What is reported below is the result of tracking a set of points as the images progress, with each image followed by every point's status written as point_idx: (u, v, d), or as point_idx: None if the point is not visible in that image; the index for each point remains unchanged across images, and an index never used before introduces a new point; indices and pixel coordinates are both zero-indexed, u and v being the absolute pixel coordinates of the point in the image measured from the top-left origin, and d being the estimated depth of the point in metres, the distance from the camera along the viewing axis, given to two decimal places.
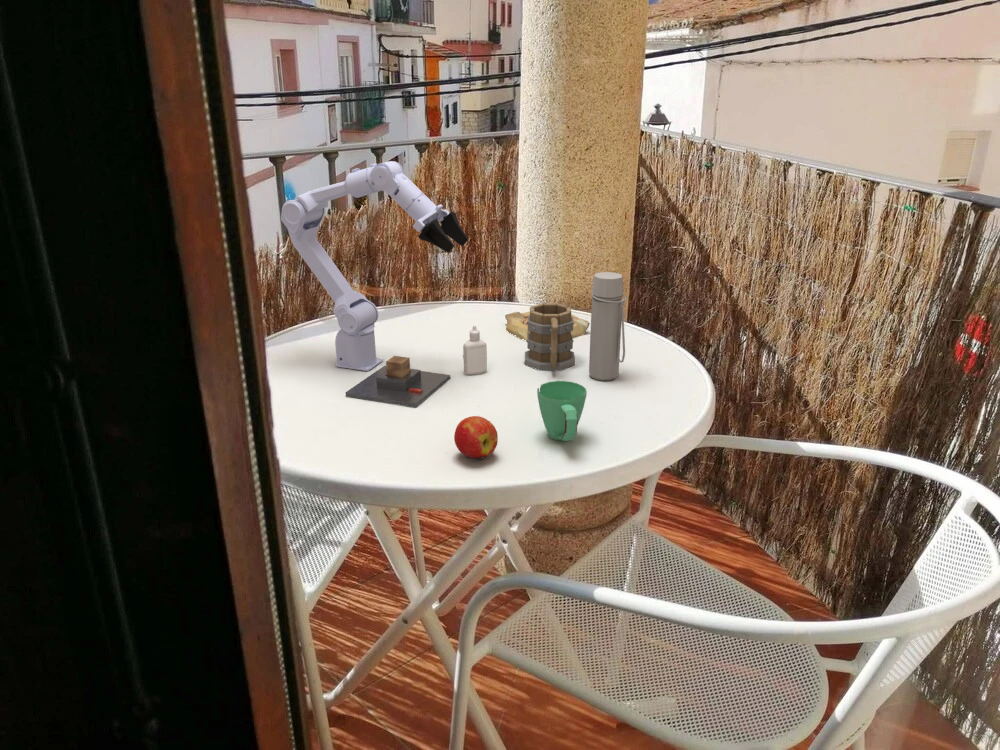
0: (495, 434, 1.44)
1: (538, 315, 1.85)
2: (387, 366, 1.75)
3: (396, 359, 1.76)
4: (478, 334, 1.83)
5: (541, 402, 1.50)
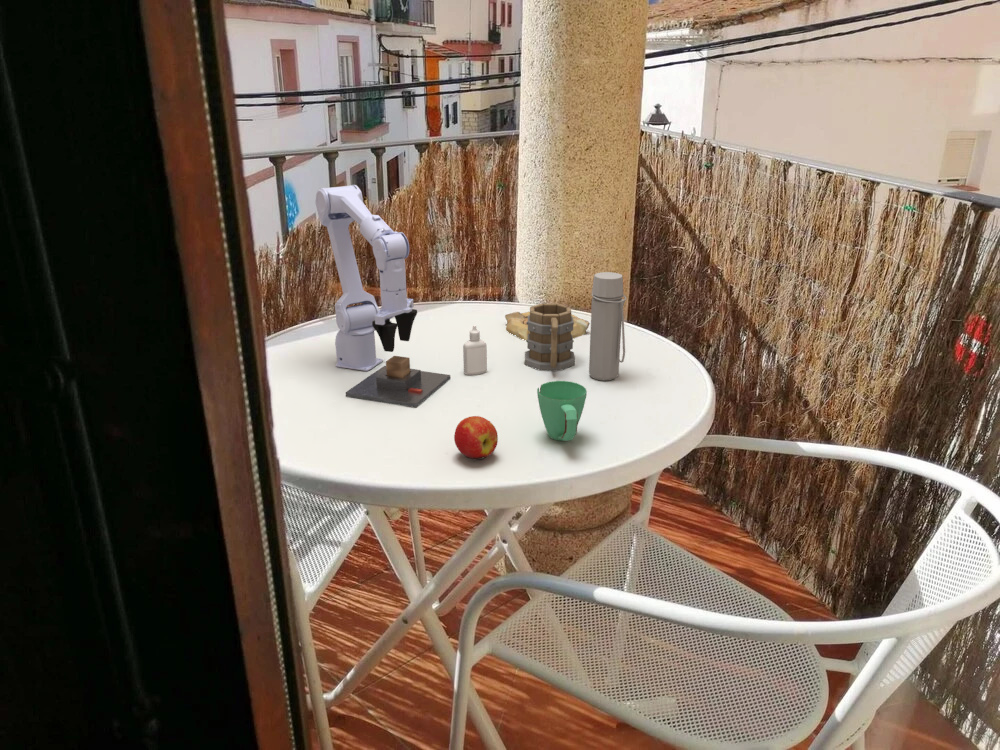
0: (495, 434, 1.44)
1: (538, 315, 1.85)
2: (387, 366, 1.75)
3: (396, 359, 1.76)
4: (478, 334, 1.83)
5: (541, 402, 1.50)
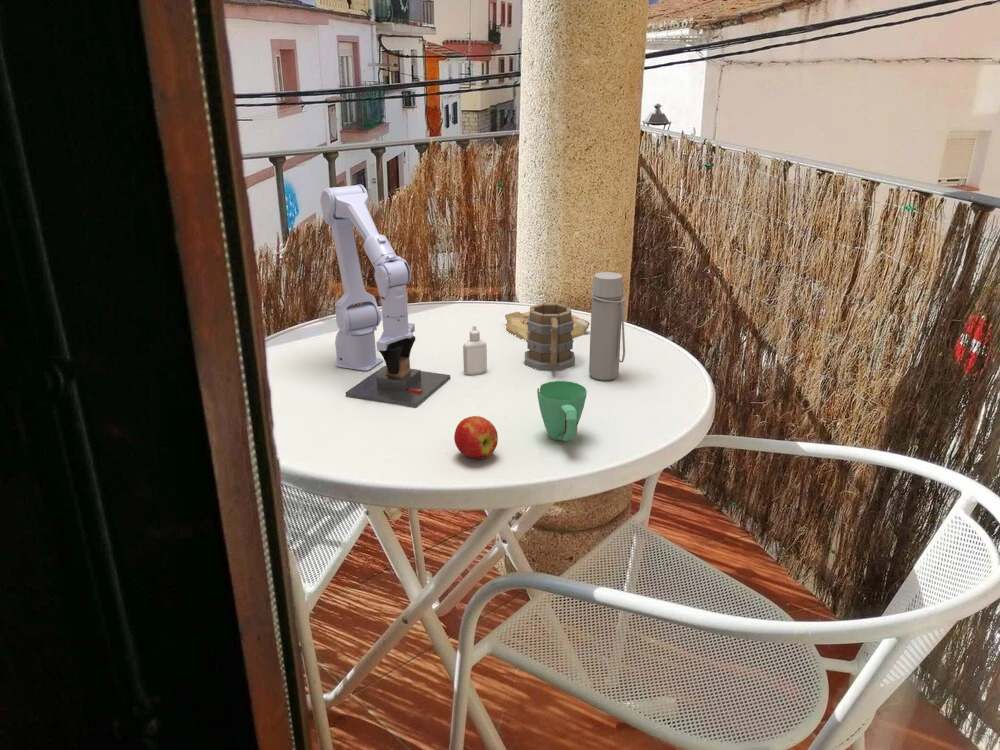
0: (495, 434, 1.44)
1: (538, 315, 1.85)
2: None
3: None
4: (478, 334, 1.83)
5: (541, 402, 1.50)
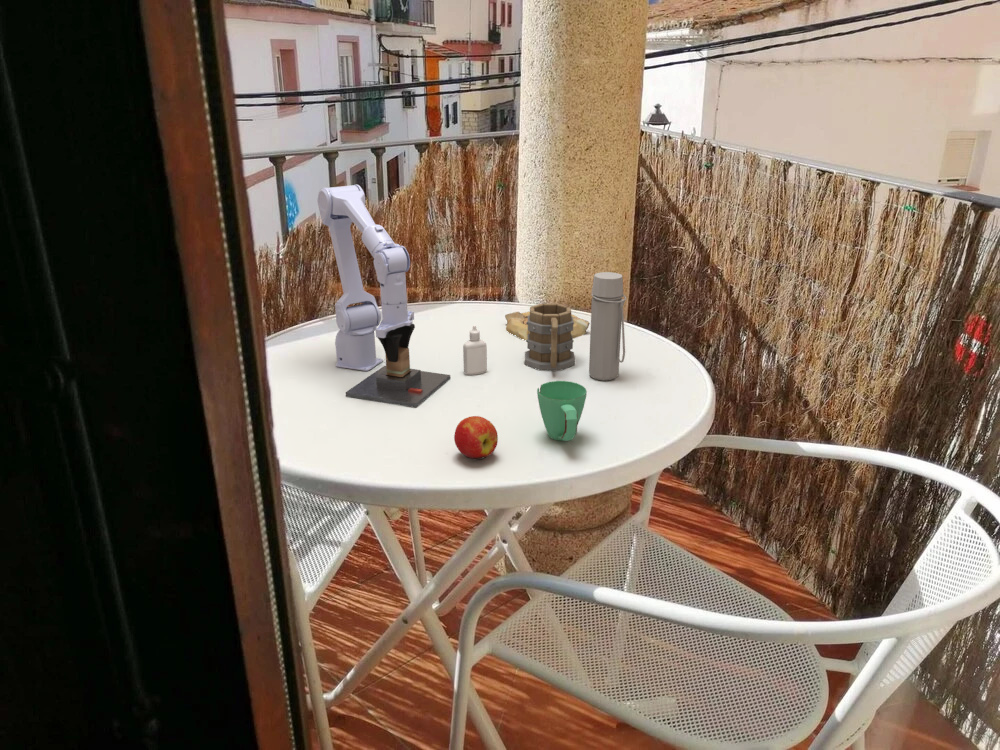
0: (495, 434, 1.44)
1: (538, 315, 1.85)
2: (386, 357, 1.75)
3: None
4: (478, 334, 1.83)
5: (541, 402, 1.50)
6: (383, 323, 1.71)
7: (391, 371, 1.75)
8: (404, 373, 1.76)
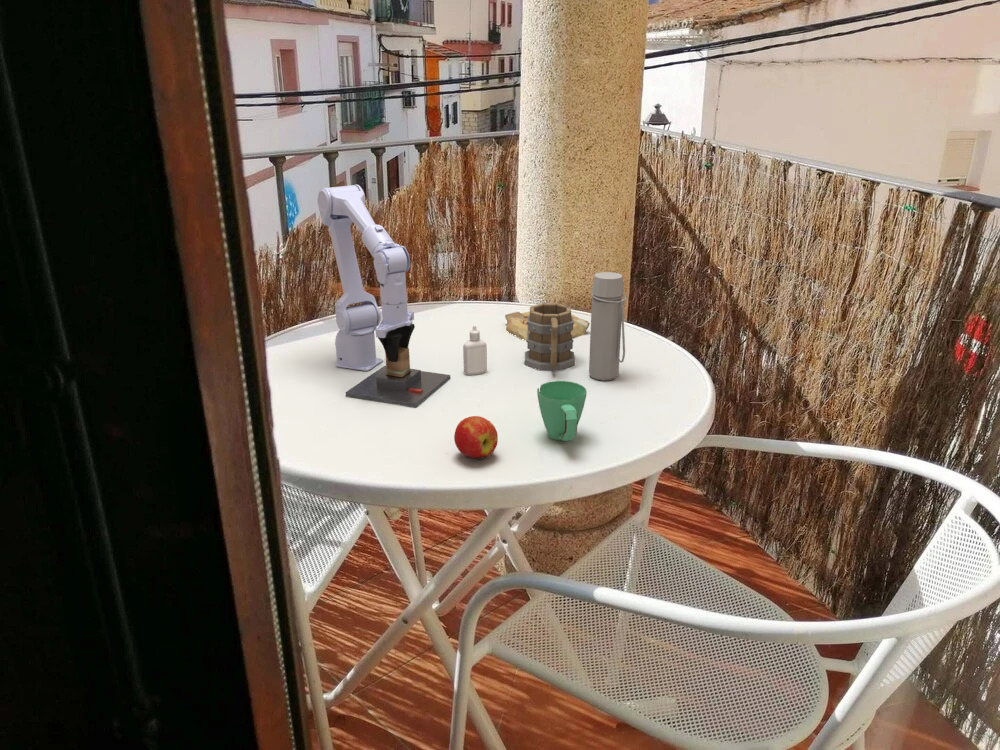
0: (495, 434, 1.44)
1: (538, 315, 1.85)
2: (386, 356, 1.75)
3: None
4: (478, 334, 1.83)
5: (541, 402, 1.50)
6: (383, 323, 1.71)
7: (391, 371, 1.75)
8: (404, 373, 1.76)
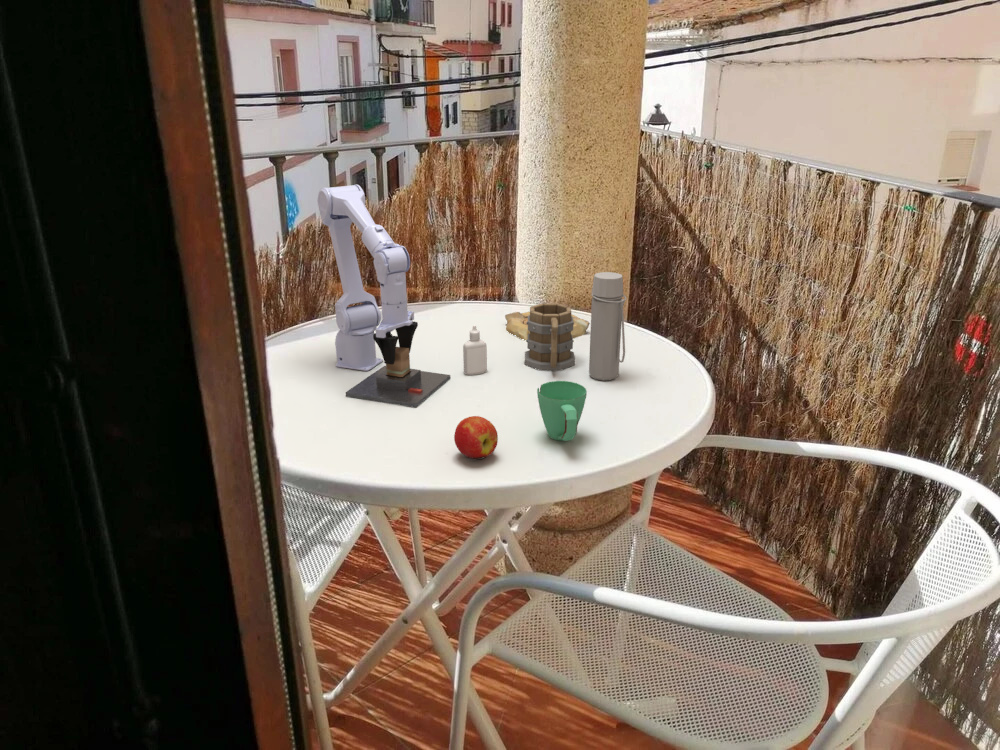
0: (495, 434, 1.44)
1: (538, 315, 1.85)
2: None
3: (395, 350, 1.75)
4: (478, 334, 1.83)
5: (541, 402, 1.50)
6: (383, 323, 1.71)
7: (391, 371, 1.75)
8: (404, 373, 1.76)
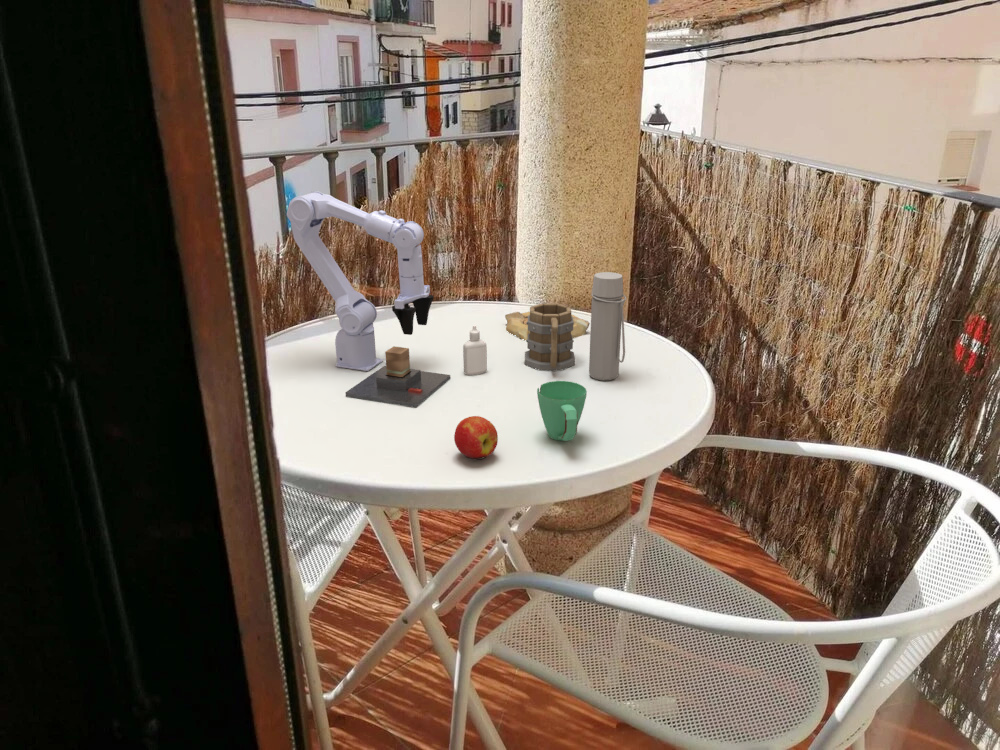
0: (495, 434, 1.44)
1: (538, 315, 1.85)
2: (386, 357, 1.75)
3: (395, 350, 1.75)
4: (478, 334, 1.83)
5: (541, 402, 1.50)
6: (401, 296, 1.81)
7: (391, 371, 1.75)
8: (404, 373, 1.76)
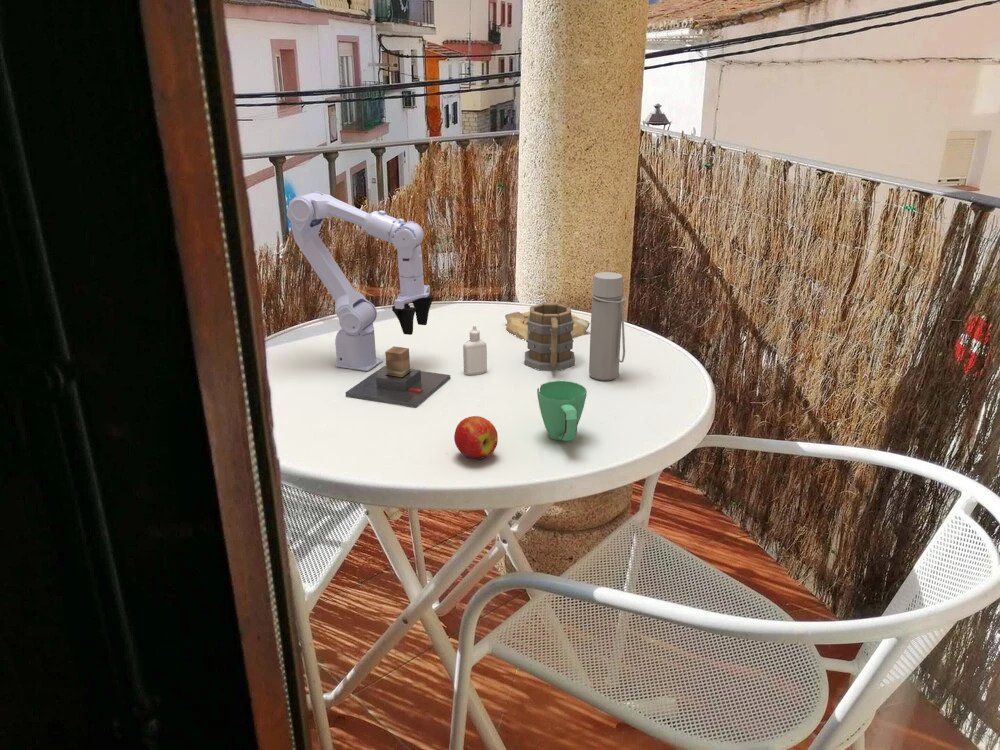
0: (495, 434, 1.44)
1: (538, 315, 1.85)
2: (386, 357, 1.75)
3: (395, 350, 1.75)
4: (478, 334, 1.83)
5: (541, 402, 1.50)
6: (401, 296, 1.81)
7: (391, 371, 1.75)
8: (404, 373, 1.76)
